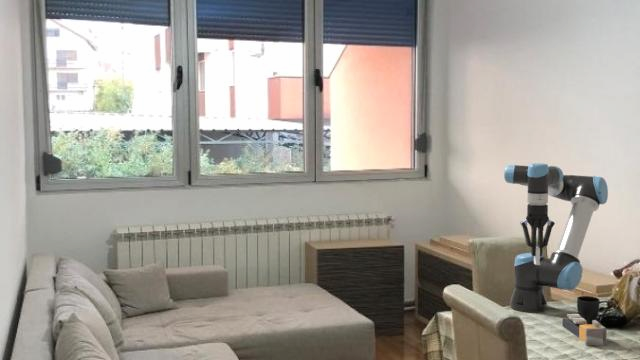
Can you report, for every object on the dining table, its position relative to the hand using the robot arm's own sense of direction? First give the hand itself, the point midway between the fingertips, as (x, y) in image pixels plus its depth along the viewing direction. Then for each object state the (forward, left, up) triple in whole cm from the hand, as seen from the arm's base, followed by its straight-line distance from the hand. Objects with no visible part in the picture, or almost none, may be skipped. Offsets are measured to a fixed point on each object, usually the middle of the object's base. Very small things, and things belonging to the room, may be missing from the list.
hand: (536, 264), depth 271 cm
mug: (-2, +23, -25) cm, 34 cm away
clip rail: (+13, +15, -24) cm, 31 cm away
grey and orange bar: (+11, +13, -25) cm, 30 cm away
